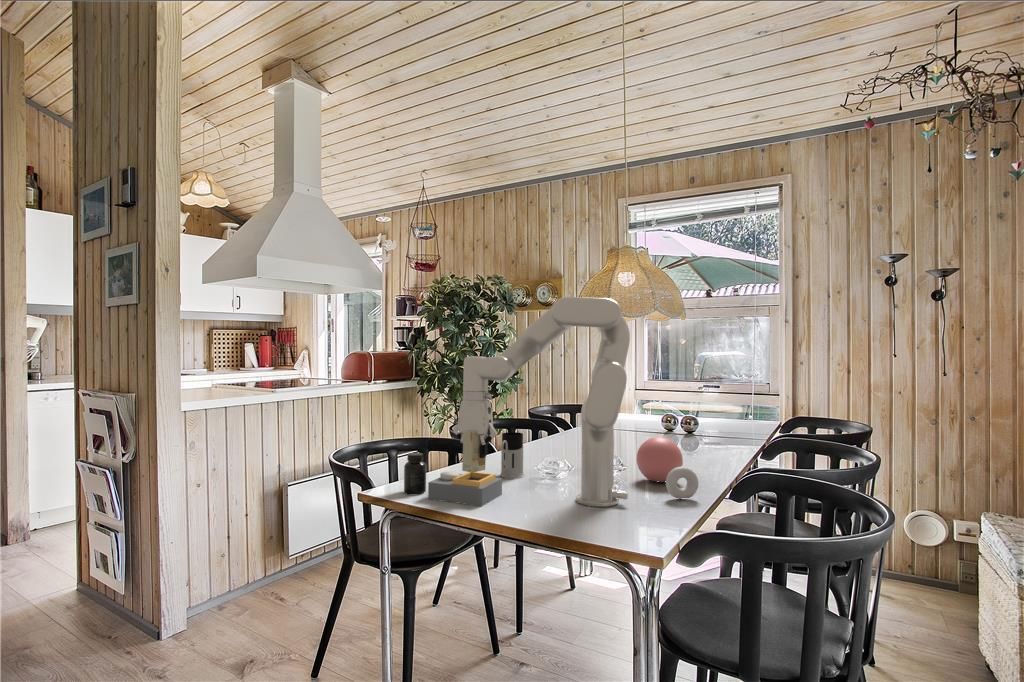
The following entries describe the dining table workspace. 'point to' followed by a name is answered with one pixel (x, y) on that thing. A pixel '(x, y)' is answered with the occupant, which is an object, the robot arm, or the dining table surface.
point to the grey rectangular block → (465, 487)
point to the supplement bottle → (415, 474)
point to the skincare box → (472, 452)
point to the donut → (673, 479)
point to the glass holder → (512, 455)
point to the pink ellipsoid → (658, 458)
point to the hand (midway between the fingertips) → (474, 455)
